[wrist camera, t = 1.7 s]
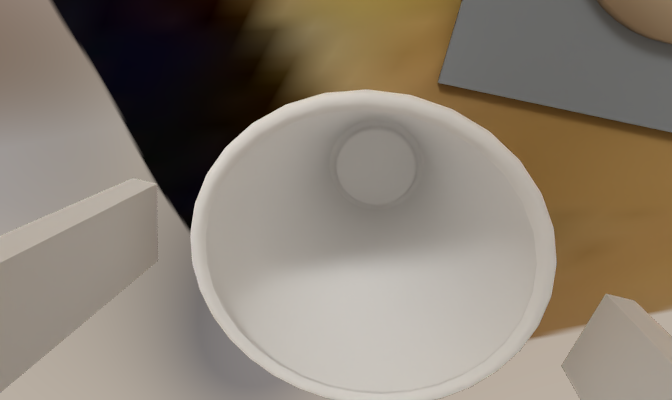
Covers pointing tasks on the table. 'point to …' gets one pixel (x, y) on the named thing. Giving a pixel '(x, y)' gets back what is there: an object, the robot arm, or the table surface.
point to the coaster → (643, 17)
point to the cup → (373, 247)
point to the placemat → (561, 59)
